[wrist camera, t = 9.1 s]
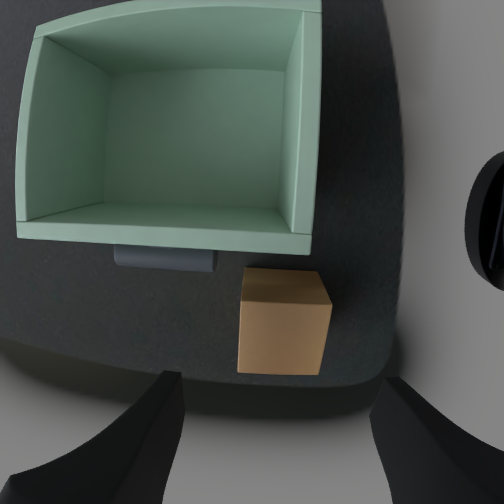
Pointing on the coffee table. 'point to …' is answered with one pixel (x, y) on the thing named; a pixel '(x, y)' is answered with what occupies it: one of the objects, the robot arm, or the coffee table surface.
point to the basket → (173, 130)
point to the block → (282, 322)
